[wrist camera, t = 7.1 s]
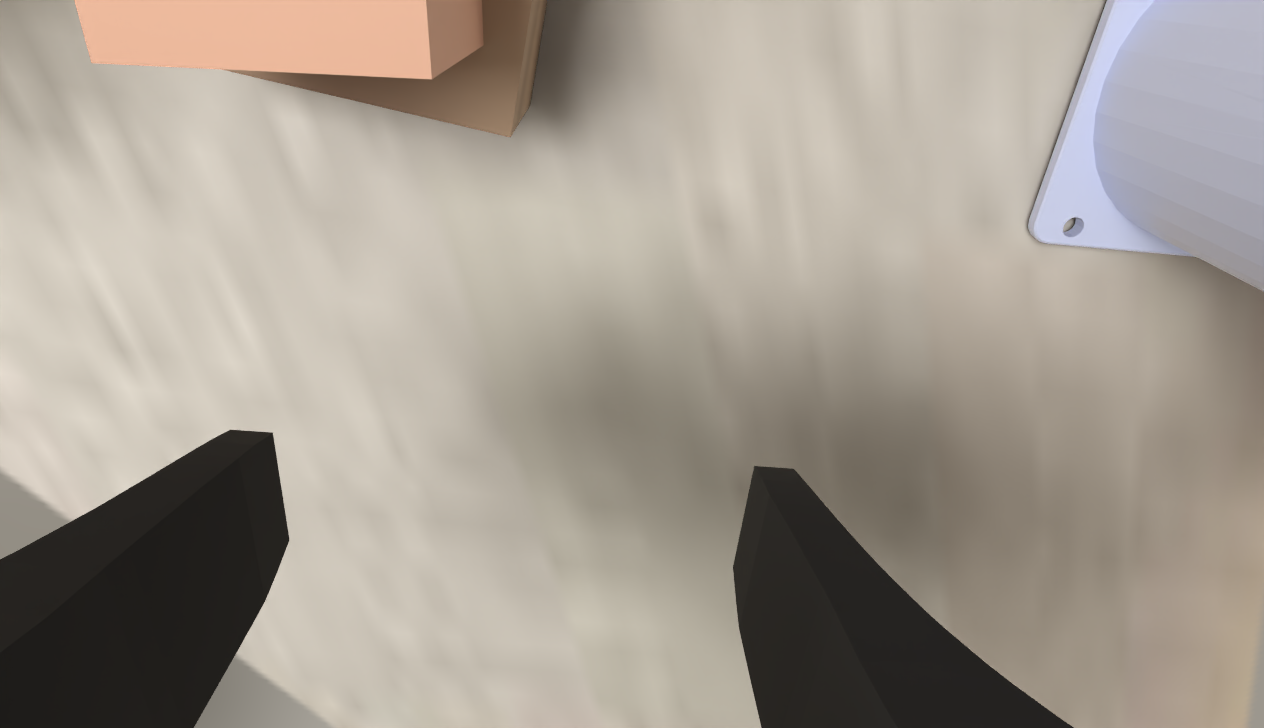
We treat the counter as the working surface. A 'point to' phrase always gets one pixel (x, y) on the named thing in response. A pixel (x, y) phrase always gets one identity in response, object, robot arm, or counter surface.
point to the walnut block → (455, 76)
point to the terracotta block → (285, 35)
